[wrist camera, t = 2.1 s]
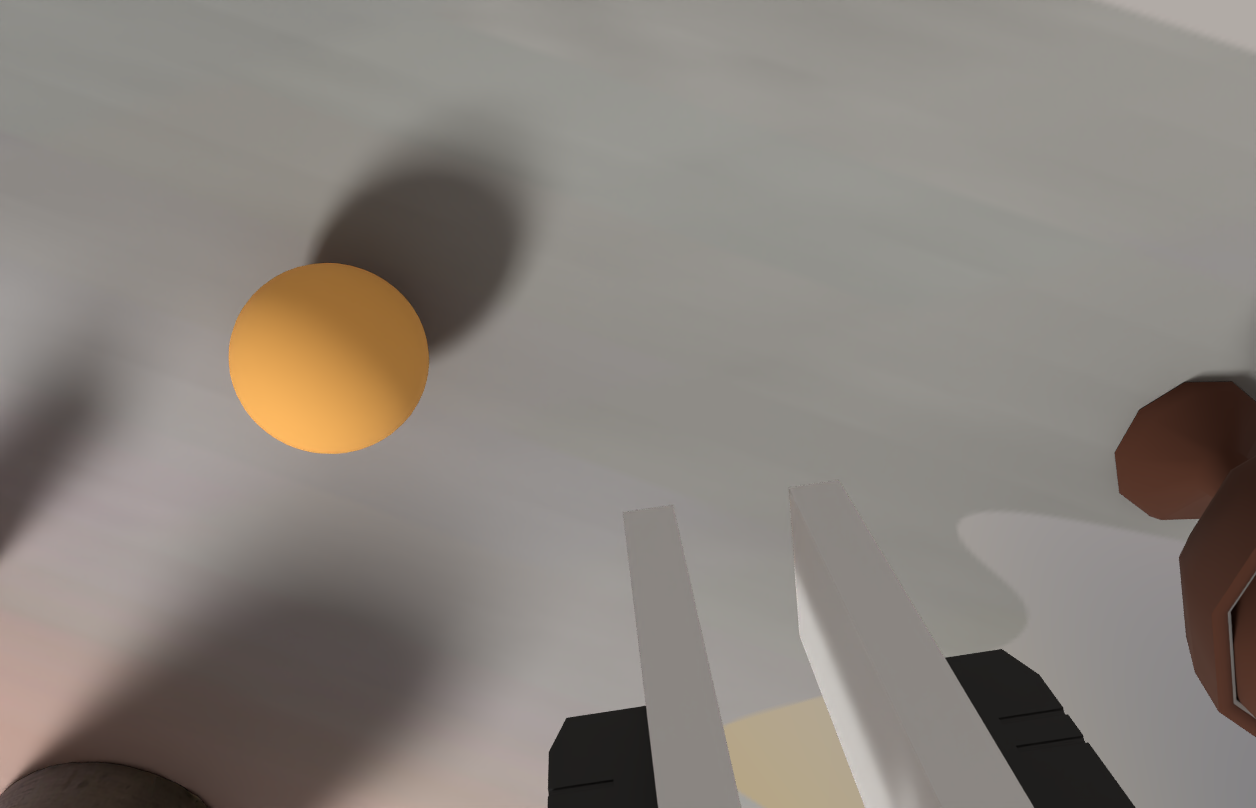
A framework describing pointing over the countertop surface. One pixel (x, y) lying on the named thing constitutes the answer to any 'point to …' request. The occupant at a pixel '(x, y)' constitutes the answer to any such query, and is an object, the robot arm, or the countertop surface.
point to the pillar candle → (96, 789)
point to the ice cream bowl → (1206, 524)
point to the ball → (328, 358)
